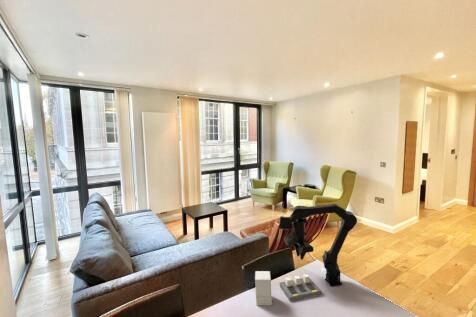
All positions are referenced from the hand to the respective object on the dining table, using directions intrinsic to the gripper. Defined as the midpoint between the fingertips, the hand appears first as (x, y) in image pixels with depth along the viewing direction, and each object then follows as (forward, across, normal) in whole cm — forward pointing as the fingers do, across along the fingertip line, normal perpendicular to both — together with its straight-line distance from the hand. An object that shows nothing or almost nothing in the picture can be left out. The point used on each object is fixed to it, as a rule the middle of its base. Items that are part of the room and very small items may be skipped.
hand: (299, 257), depth 126 cm
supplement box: (+12, +11, -25) cm, 30 cm away
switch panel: (+12, +9, -5) cm, 16 cm away
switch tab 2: (+10, +6, -5) cm, 13 cm away
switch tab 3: (+10, +6, 0) cm, 12 cm away
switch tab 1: (+10, +6, -10) cm, 15 cm away
